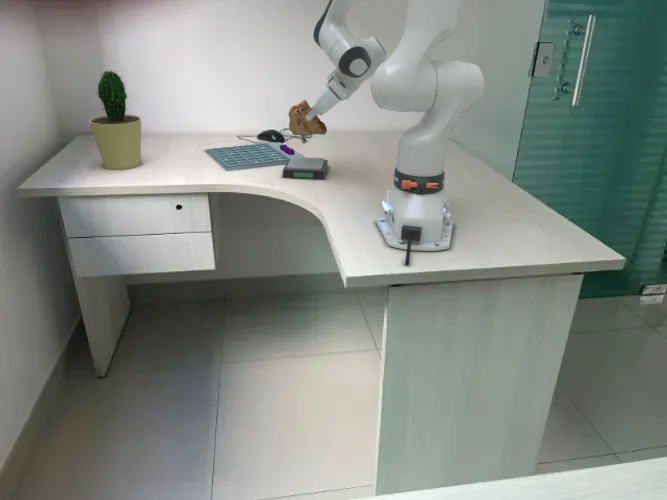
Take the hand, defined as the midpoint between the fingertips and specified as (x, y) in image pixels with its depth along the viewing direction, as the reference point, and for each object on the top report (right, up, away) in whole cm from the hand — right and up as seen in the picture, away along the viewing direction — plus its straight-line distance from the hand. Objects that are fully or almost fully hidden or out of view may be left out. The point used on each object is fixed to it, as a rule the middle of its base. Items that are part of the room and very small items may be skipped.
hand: (308, 116), depth 162 cm
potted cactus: (-62, -13, +11) cm, 64 cm away
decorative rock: (0, -6, +1) cm, 6 cm away
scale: (-1, -16, +8) cm, 18 cm away
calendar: (-20, -8, +24) cm, 32 cm away
